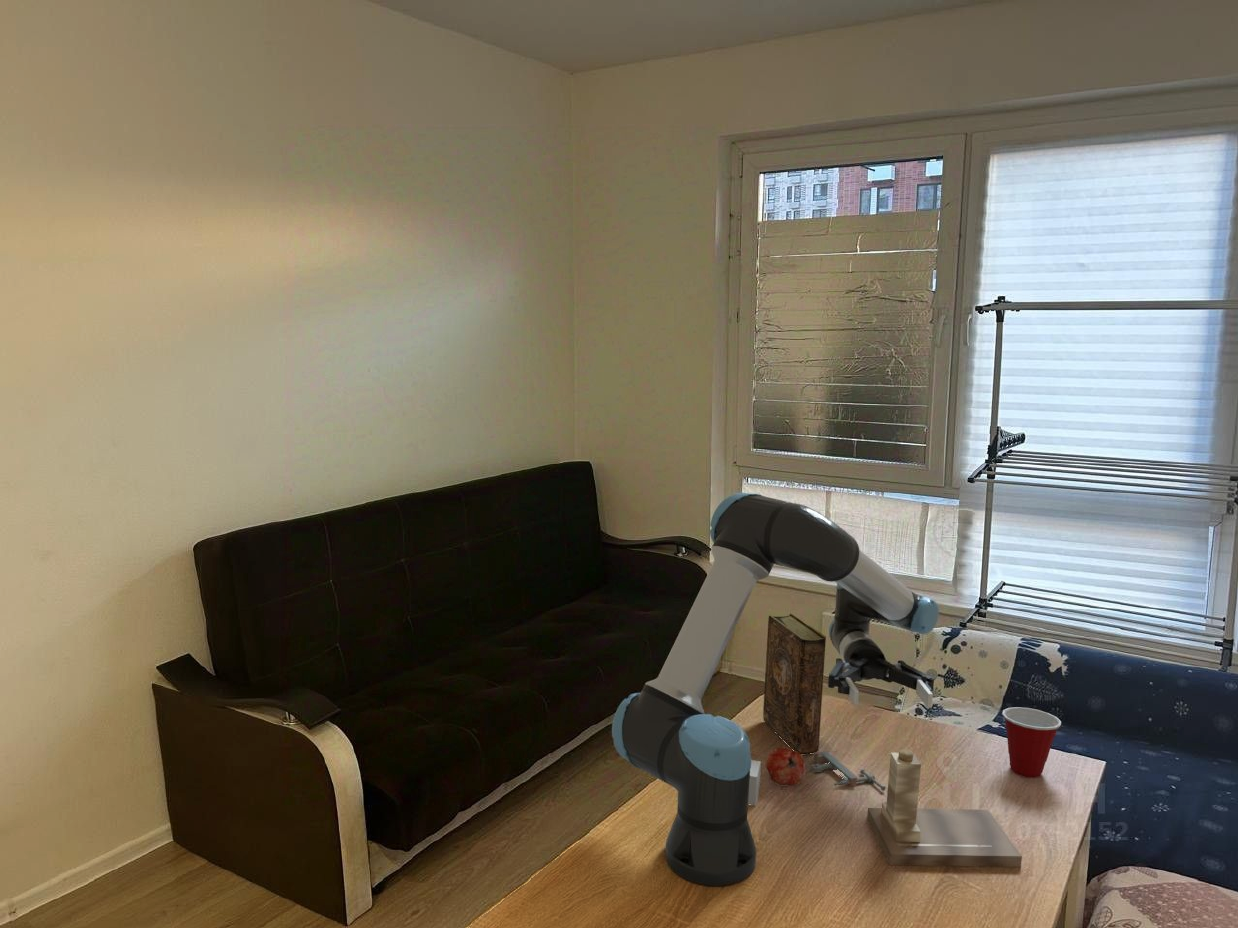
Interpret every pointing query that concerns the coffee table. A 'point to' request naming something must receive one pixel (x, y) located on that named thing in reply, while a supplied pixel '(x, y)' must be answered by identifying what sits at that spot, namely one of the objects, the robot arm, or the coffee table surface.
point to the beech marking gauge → (903, 796)
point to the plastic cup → (1029, 739)
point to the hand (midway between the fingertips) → (893, 699)
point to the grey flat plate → (949, 840)
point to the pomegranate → (785, 766)
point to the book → (794, 682)
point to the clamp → (835, 764)
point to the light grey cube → (754, 782)
